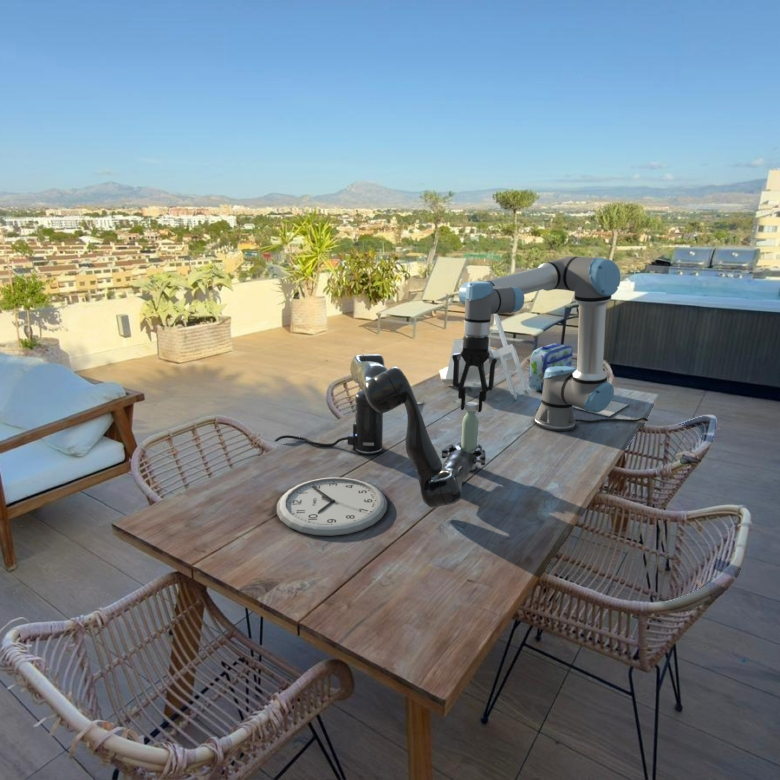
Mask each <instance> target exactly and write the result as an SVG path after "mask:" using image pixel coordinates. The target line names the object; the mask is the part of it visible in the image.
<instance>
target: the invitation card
mask: <svg viewBox="0 0 780 780" xmlns="http://www.w3.org/2000/svg"><path fill="white" fill-rule="evenodd" d="M628 406H629V404H627V403H623V402H618V401H614V400H611V402H610V403H609V405H608V406H607V407H606V408H605V409H604V410H602V411H601V412H597V413H594V412H591V411H586V410H584V409H582V408H579V407H576V406H574V407H573V409H575V410H581V411H584V412H587V413H593V414H596V415H600V416H604V417H608V418H609V417H611V416H613V415H614V414H616V413H617V412H619V411H621V410H623V409H624V408H626V407H628Z"/></svg>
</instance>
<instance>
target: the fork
mask: <svg viewBox="0 0 780 780" xmlns="http://www.w3.org/2000/svg"><path fill="white" fill-rule="evenodd" d="M424 401H425V396H421V395H420V396H419V397H418V400H417V404H418V405H422V404H423V403H424Z"/></svg>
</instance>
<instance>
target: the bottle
mask: <svg viewBox="0 0 780 780" xmlns="http://www.w3.org/2000/svg"><path fill="white" fill-rule="evenodd" d="M476 412H477V411H474V412H471V411H467V410H466V413H465V415H464V416H463V418H462V423H461V425H462V426H461V427H462V428H461V438H460V439H461V441H460V442H461V450H464V451H470V450H472V449H476V447H477V445H478V438H479V437H478V435H479V424H480V423H479V421H480V420H479V417H478V415H477V414H476ZM476 464H477V463H476ZM476 464H474V465H473V467H472V468H471V470H470V471H474V470H476Z"/></svg>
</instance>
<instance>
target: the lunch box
mask: <svg viewBox="0 0 780 780" xmlns="http://www.w3.org/2000/svg"><path fill="white" fill-rule="evenodd" d="M573 356H574V355H573V347H572V346H571V345H566V344H560V343H551V344H548V345H544V346H541V347H538V348H536V349H534V350H533V351H532V353H531V355H530V359H529V370H528V371H529V372H528V389H531V390H536V391H541V392H542V391H543V380H544V379H543V378H544V375H545V370H546V369H547V368H549V367H555V366H569V367H572V365H573V363H572V362H573Z"/></svg>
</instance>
